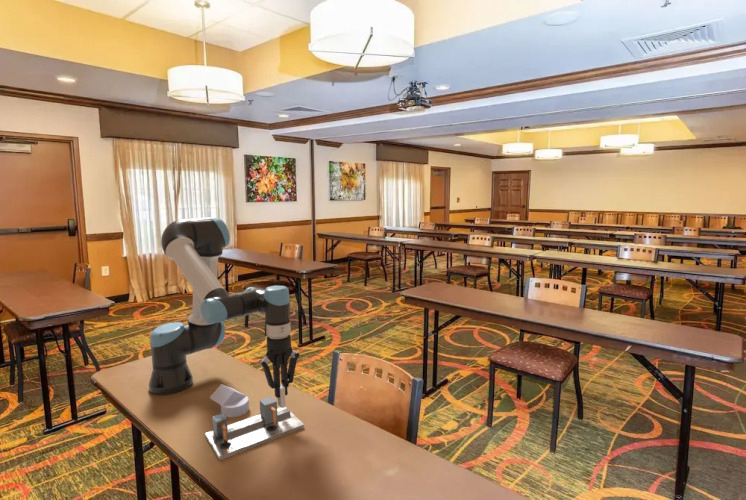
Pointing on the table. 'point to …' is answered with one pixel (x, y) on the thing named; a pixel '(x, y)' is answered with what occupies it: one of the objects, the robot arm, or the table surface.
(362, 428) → the table surface
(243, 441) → the bolt plate
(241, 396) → the wedge on round base
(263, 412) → the slider
